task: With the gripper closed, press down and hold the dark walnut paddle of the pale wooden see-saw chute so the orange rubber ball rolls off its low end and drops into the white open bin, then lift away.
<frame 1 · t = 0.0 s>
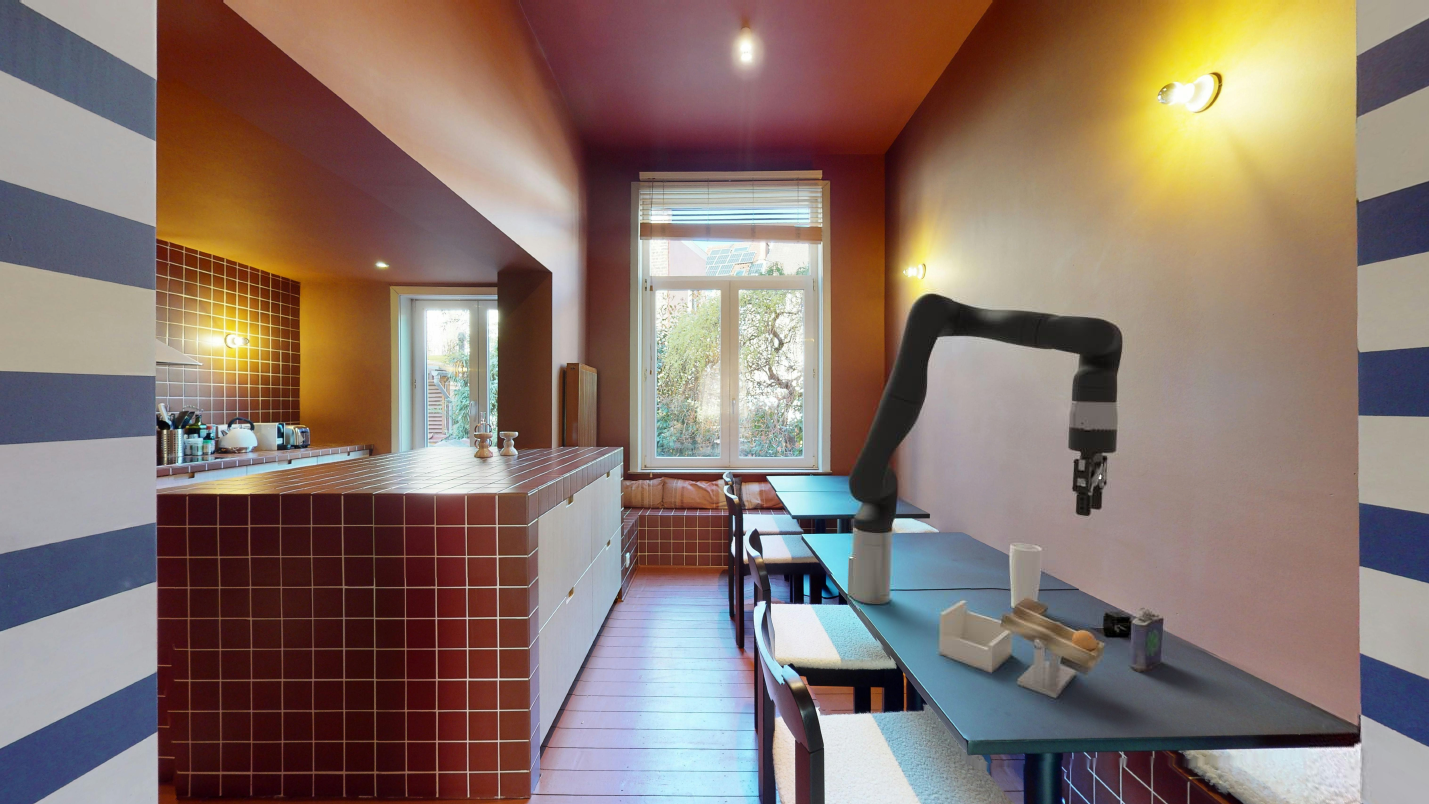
hand: (1088, 512, 106), 29 cm above the table, fingers open, 8 cm apart
ball: (1084, 641, 97), point 9 cm above the table, tilted 37°, touching chute
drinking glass: (1023, 610, 134), on the table
black blocky device: (1116, 635, 123), on the table
chute: (1054, 635, 103), point 7 cm above the table, hinge at 10.0°, touching ball
white open bin: (975, 654, 110), on the table
flask: (1144, 665, 108), on the table
stand: (1046, 679, 101), on the table
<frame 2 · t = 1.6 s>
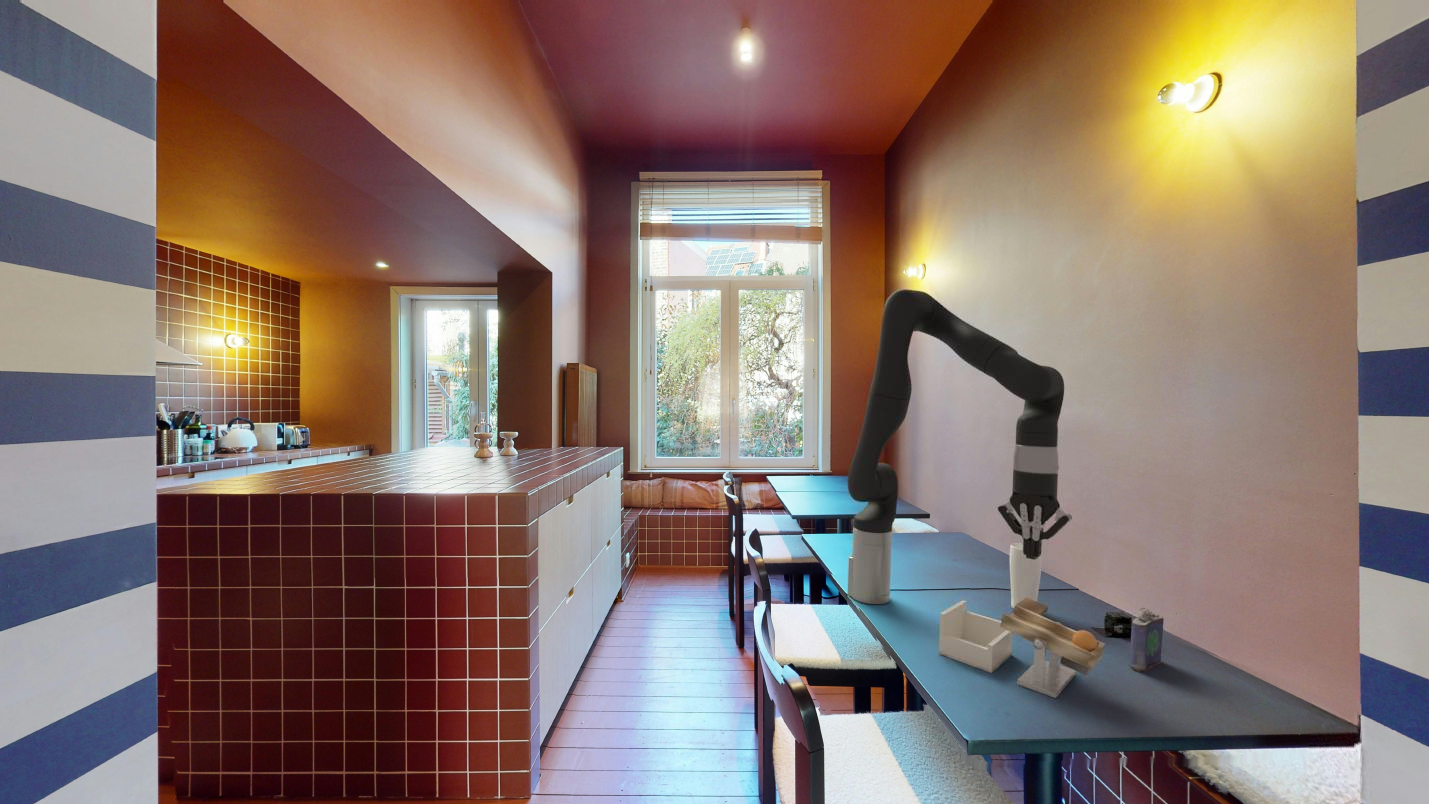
hand: (1032, 558, 109), 20 cm above the table, fingers closed
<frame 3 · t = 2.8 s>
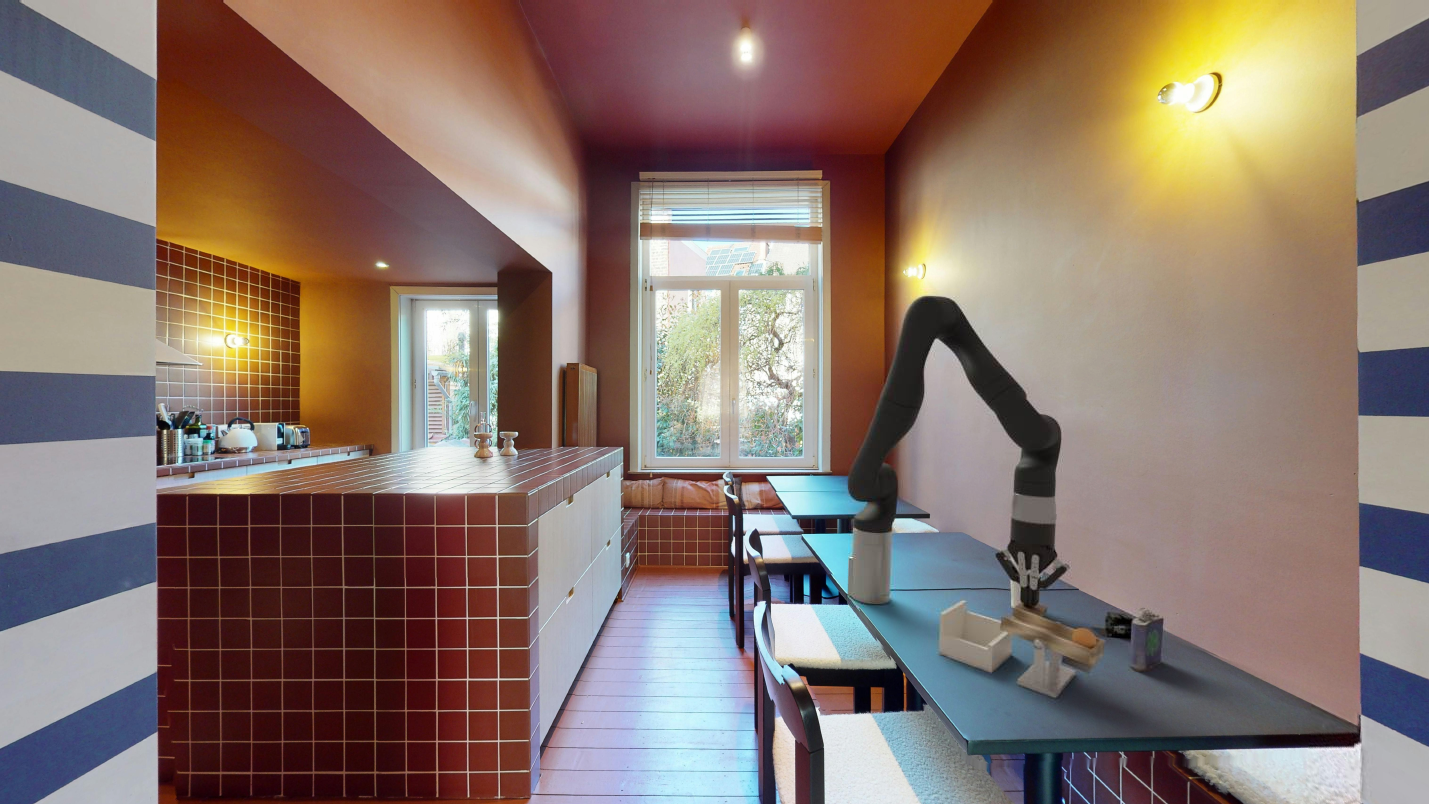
hand: (1029, 606, 109), 10 cm above the table, fingers closed
chute: (1055, 635, 103), point 7 cm above the table, hinge at 5.7°, touching ball, gripper
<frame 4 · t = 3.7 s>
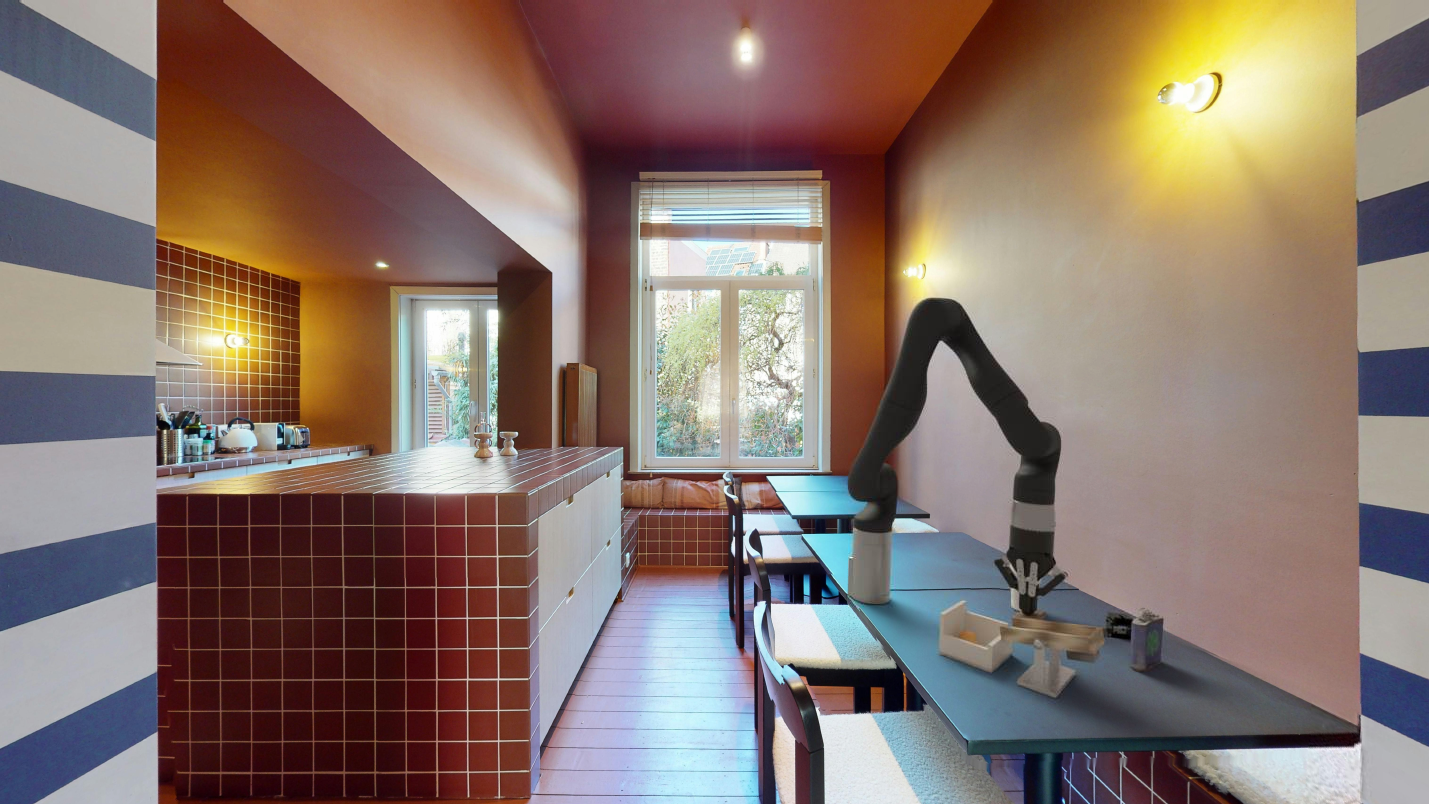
hand: (1027, 613, 109), 9 cm above the table, fingers closed
ball: (967, 639, 111), point 2 cm above the table, tilted 108°, touching white open bin
chute: (1056, 635, 103), point 7 cm above the table, hinge at -10.5°, touching gripper
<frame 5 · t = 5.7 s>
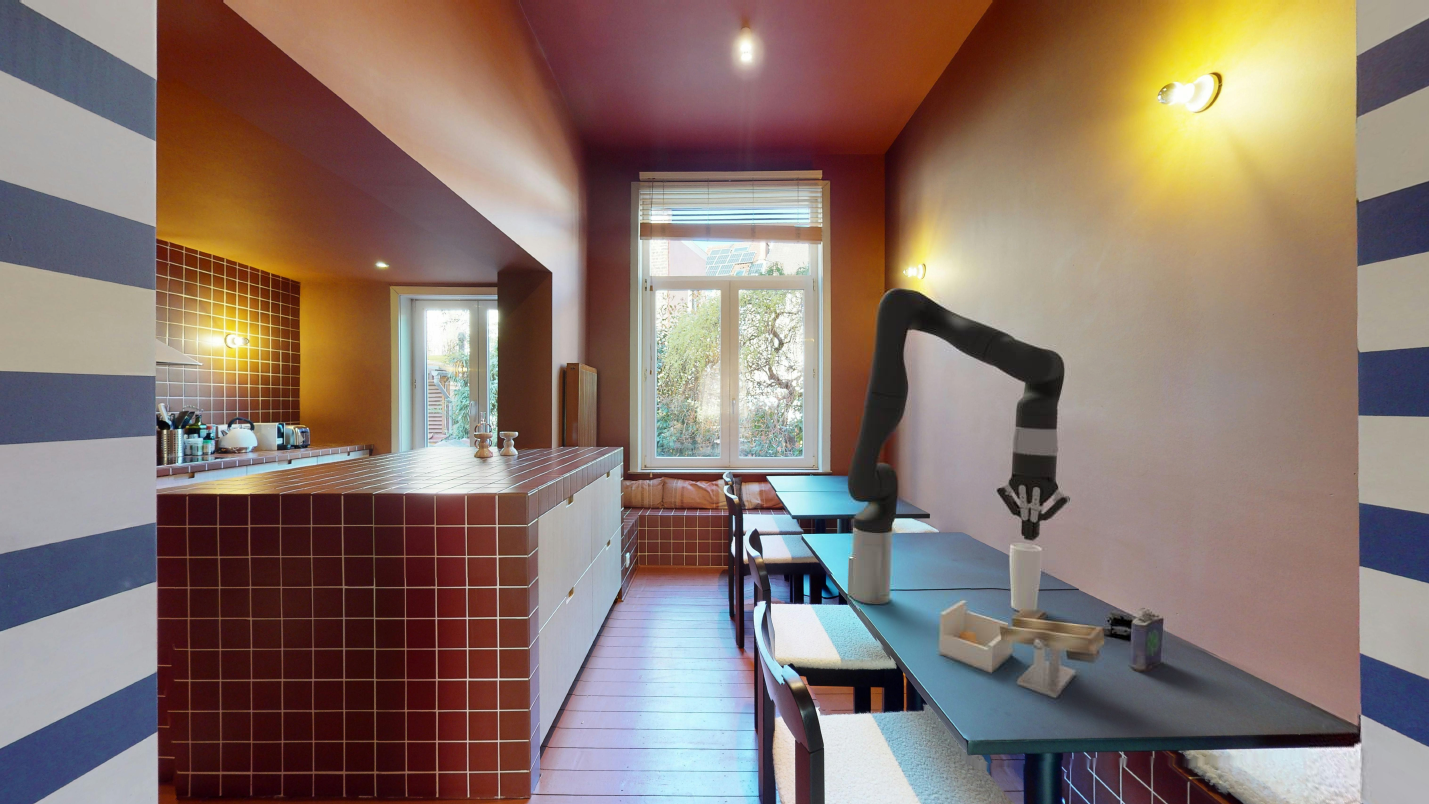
hand: (1030, 539, 110), 23 cm above the table, fingers closed
ball: (968, 640, 111), point 2 cm above the table, tilted 79°, touching white open bin
chute: (1056, 635, 103), point 7 cm above the table, hinge at -10.5°
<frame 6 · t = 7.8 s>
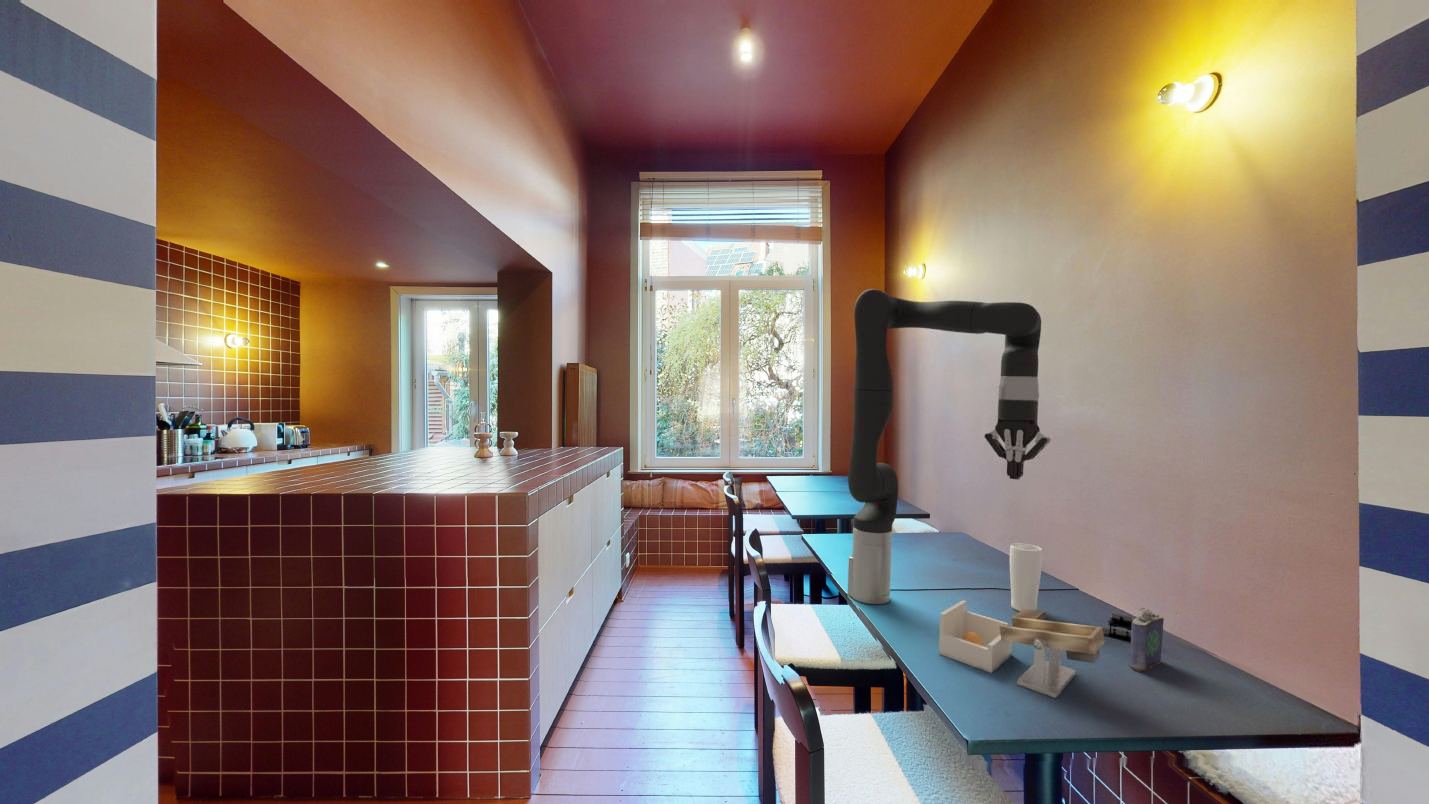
hand: (1014, 478, 121), 33 cm above the table, fingers closed
ball: (972, 641, 111), point 2 cm above the table, tilted 103°, touching white open bin
at the end: ball inside the target area on the white open bin (0.7 cm from its centre), point 2.3 cm above the white open bin's base; ball moved 18.9 cm from its start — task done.
